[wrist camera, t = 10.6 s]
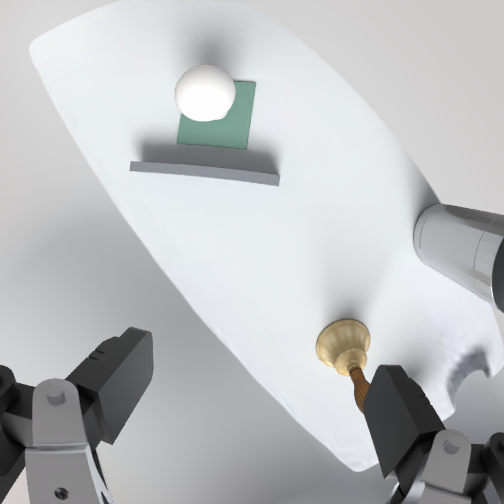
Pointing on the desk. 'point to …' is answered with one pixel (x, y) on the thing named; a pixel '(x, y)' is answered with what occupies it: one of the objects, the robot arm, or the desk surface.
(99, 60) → the desk surface
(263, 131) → the desk surface
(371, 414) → the robot arm
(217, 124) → the pad
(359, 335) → the hand bell
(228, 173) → the wall
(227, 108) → the lightbulb
